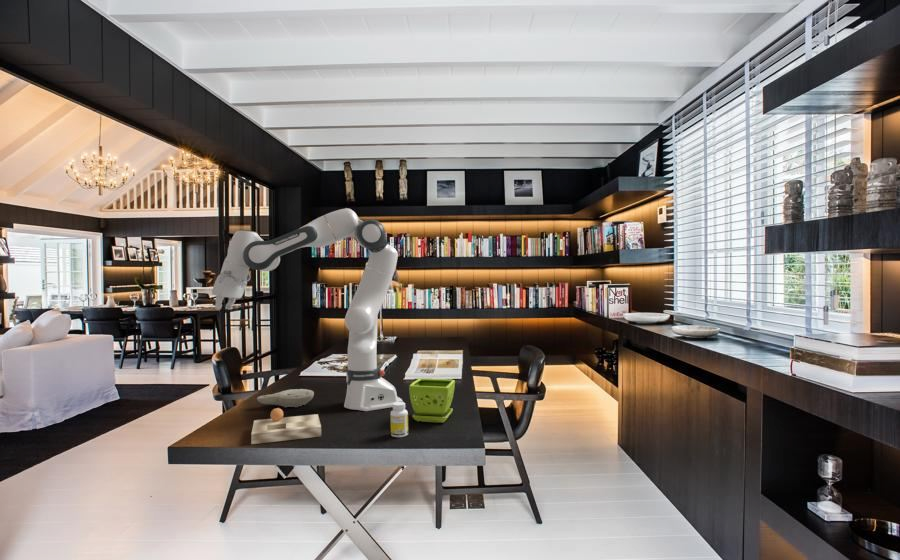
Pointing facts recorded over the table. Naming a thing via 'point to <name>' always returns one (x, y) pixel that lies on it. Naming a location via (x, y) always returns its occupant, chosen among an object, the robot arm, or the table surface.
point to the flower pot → (431, 399)
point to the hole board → (285, 429)
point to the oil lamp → (288, 398)
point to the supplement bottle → (399, 420)
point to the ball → (276, 414)
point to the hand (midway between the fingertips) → (222, 309)
